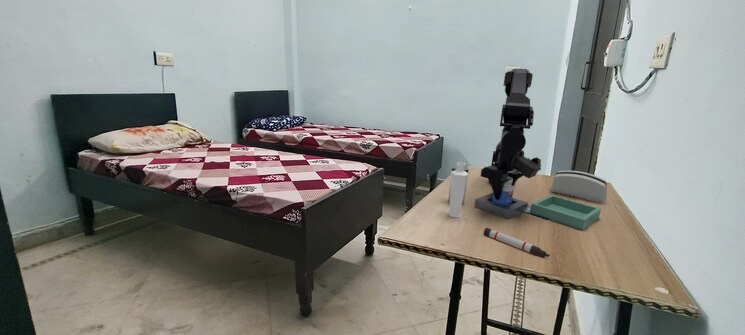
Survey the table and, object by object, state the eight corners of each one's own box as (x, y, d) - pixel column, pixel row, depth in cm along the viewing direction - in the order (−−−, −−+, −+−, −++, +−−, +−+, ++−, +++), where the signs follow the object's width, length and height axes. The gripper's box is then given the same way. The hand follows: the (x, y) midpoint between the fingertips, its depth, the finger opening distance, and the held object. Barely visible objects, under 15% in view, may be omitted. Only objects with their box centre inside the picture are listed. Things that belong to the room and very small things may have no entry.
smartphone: (509, 198, 112) (558, 213, 101) (509, 200, 112) (558, 215, 101) (498, 203, 107) (548, 219, 96) (497, 205, 107) (548, 221, 96)
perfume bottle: (453, 219, 93) (460, 166, 89) (443, 213, 97) (449, 162, 93) (466, 217, 95) (474, 164, 91) (456, 211, 99) (462, 160, 95)
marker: (483, 236, 85) (484, 228, 85) (487, 233, 87) (488, 226, 86) (547, 261, 75) (549, 253, 74) (550, 258, 76) (552, 250, 75)
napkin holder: (606, 199, 117) (612, 175, 112) (604, 207, 114) (609, 182, 109) (552, 187, 126) (555, 164, 121) (549, 194, 123) (552, 171, 118)
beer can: (446, 203, 105) (451, 165, 102) (449, 198, 109) (454, 162, 106) (462, 206, 103) (467, 167, 100) (465, 201, 108) (469, 164, 105)
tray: (529, 213, 101) (531, 203, 100) (549, 203, 110) (551, 194, 109) (582, 230, 91) (584, 220, 90) (598, 218, 100) (601, 208, 99)
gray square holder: (474, 206, 103) (475, 199, 103) (493, 199, 111) (494, 192, 110) (509, 219, 96) (510, 210, 95) (526, 210, 103) (528, 202, 102)
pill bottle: (508, 213, 100) (513, 181, 97) (489, 209, 102) (493, 177, 100) (511, 208, 104) (517, 177, 101) (493, 204, 107) (498, 173, 104)
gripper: (523, 155, 86) (513, 213, 90) (553, 148, 98) (543, 199, 103) (483, 147, 94) (475, 200, 98) (515, 141, 106) (507, 189, 110)
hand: (502, 197), depth 102 cm, fingers closed on pill bottle, 5 cm apart
